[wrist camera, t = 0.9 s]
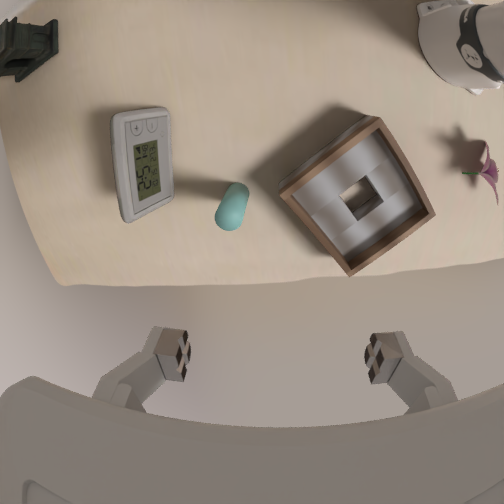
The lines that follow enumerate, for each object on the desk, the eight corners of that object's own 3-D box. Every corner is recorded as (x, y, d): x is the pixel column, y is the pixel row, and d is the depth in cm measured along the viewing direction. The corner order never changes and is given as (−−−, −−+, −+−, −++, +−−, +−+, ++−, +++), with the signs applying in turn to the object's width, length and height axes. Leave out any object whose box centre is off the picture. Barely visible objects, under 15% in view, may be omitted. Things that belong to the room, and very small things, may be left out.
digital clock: (175, 204, 46) (151, 231, 36) (129, 194, 45) (98, 218, 36) (189, 109, 37) (163, 113, 28) (138, 104, 37) (102, 108, 28)
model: (58, 18, 26) (5, 11, 13) (61, 52, 30) (4, 52, 17) (18, 51, 28) (-32, 56, 15) (20, 83, 32) (-31, 93, 20)
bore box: (366, 115, 35) (380, 117, 30) (420, 201, 41) (435, 214, 36) (278, 183, 42) (279, 195, 37) (342, 258, 48) (349, 277, 43)
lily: (477, 202, 40) (515, 207, 32) (453, 203, 37) (498, 208, 28) (473, 144, 38) (510, 143, 29) (447, 135, 35) (492, 131, 26)
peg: (238, 178, 42) (228, 199, 34) (253, 194, 44) (248, 219, 35) (222, 192, 44) (209, 217, 35) (237, 208, 45) (228, 235, 36)
